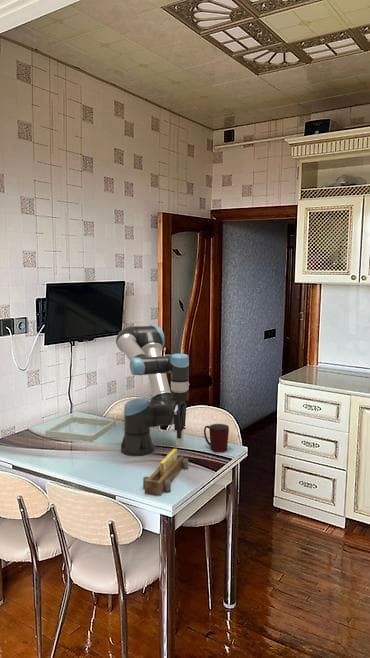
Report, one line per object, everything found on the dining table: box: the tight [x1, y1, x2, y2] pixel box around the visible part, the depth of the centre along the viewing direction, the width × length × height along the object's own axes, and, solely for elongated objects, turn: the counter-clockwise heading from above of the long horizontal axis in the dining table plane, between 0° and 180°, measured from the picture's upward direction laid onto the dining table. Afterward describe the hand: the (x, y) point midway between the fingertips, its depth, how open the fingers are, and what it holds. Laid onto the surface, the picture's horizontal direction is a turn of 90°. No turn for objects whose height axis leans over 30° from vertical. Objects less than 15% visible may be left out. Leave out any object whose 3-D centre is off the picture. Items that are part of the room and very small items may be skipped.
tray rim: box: [44, 415, 117, 443], centre depth 255 cm, size 26×26×3 cm
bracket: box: [142, 455, 189, 497], centre depth 195 cm, size 11×28×5 cm, turn 163°
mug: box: [203, 423, 230, 453], centre depth 228 cm, size 12×9×11 cm
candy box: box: [159, 448, 179, 478], centre depth 199 cm, size 16×2×8 cm, turn 162°
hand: (180, 444), depth 212 cm, fingers closed
